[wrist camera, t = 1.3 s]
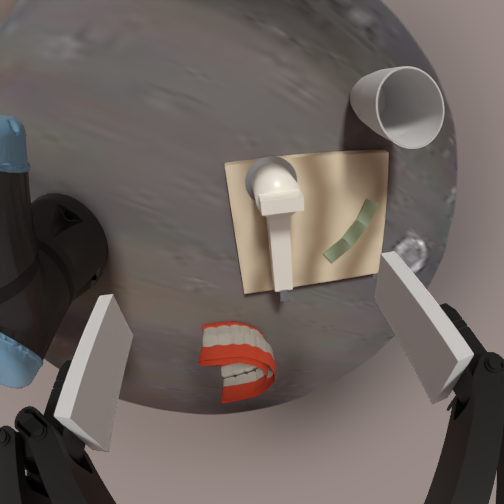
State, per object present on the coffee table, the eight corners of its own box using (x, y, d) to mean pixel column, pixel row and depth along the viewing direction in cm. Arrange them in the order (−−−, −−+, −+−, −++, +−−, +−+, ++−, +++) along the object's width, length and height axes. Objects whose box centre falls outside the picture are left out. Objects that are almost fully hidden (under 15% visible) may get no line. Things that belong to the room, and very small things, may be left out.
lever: (249, 165, 32) (255, 185, 26) (290, 160, 33) (306, 179, 26) (263, 286, 41) (270, 322, 35) (296, 281, 41) (308, 316, 35)
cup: (404, 115, 32) (453, 129, 23) (355, 142, 34) (396, 162, 25) (378, 58, 28) (425, 55, 20) (325, 84, 30) (360, 85, 21)
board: (243, 286, 43) (244, 295, 42) (224, 158, 34) (224, 162, 32) (374, 266, 44) (379, 273, 42) (383, 145, 34) (389, 149, 32)
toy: (276, 357, 52) (283, 393, 45) (221, 368, 53) (221, 404, 46) (263, 308, 46) (270, 347, 39) (199, 321, 46) (196, 360, 39)
